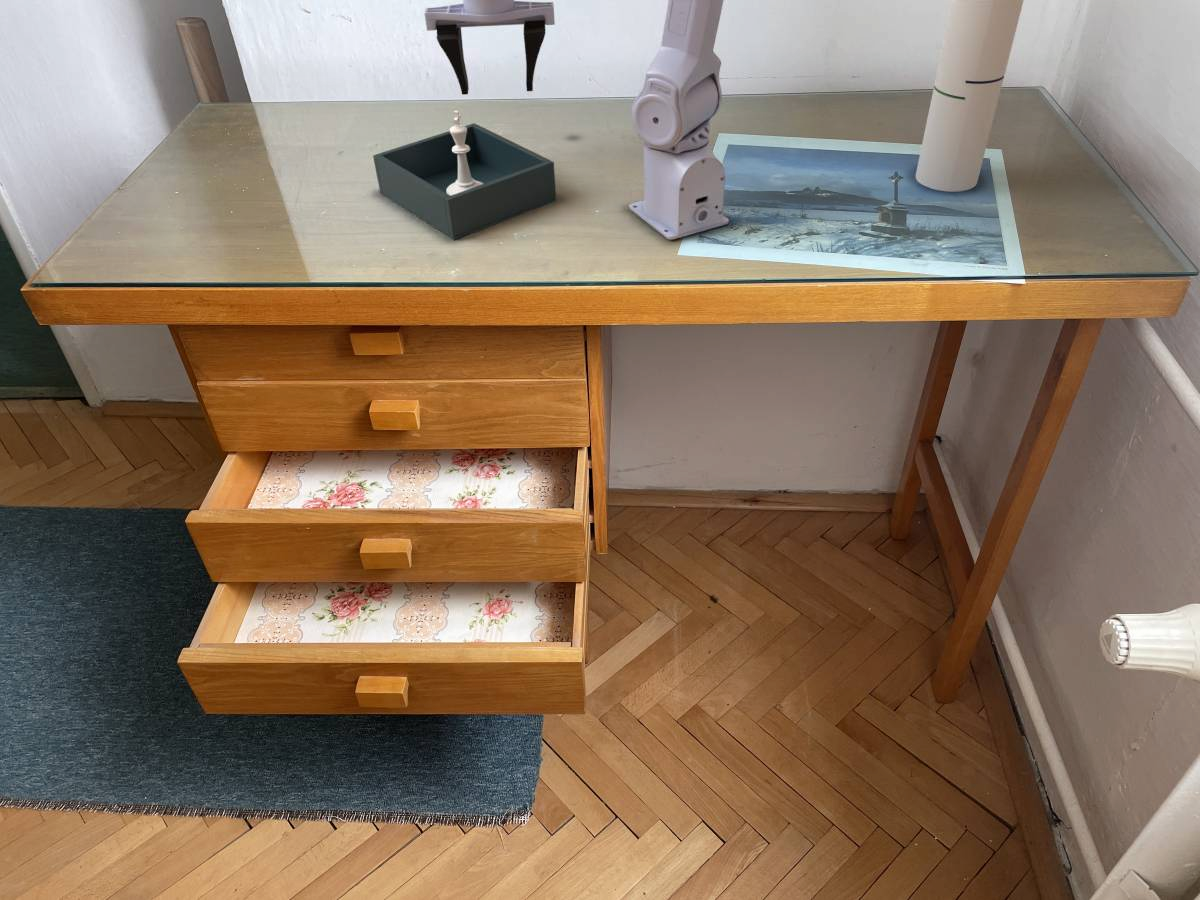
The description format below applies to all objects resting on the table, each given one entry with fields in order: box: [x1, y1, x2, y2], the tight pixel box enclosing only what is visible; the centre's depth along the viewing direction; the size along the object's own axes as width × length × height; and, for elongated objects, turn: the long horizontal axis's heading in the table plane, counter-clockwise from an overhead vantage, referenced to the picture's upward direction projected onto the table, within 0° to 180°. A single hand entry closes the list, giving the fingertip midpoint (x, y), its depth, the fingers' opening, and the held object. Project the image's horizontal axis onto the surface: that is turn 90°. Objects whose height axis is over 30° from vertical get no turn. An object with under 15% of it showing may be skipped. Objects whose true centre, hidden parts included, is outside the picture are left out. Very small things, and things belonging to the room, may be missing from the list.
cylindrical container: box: [915, 0, 1025, 193], centre depth 103 cm, size 7×7×25 cm
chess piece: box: [446, 110, 483, 196], centre depth 107 cm, size 5×5×10 cm
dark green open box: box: [372, 122, 557, 241], centre depth 109 cm, size 17×15×5 cm
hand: (497, 90), depth 109 cm, fingers open, 7 cm apart
